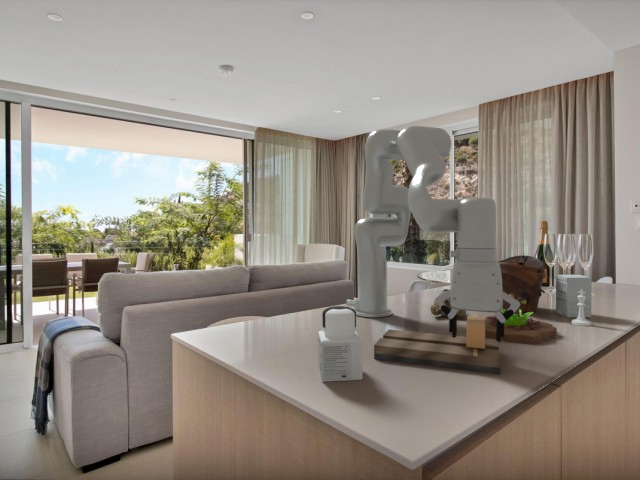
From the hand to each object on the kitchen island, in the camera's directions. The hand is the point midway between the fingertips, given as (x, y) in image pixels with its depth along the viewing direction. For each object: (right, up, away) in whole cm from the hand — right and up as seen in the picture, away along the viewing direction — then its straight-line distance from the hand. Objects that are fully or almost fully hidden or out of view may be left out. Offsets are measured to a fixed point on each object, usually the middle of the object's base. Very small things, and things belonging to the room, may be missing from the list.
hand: (476, 337), depth 85 cm
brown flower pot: (+34, -3, +51) cm, 61 cm away
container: (-30, -6, -7) cm, 31 cm away
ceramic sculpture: (+8, -4, +43) cm, 44 cm away
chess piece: (+42, -4, +30) cm, 52 cm away
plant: (+18, -5, +22) cm, 29 cm away
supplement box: (+47, -3, +41) cm, 63 cm away
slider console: (-7, -5, +3) cm, 9 cm away
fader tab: (0, -3, 0) cm, 3 cm away
